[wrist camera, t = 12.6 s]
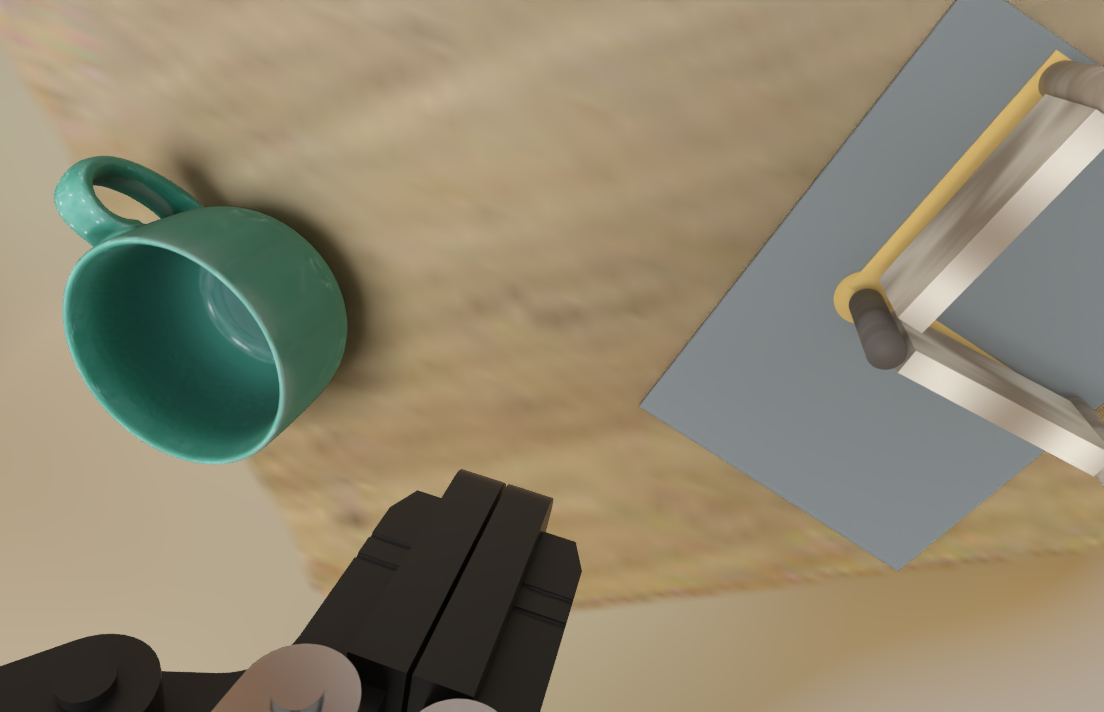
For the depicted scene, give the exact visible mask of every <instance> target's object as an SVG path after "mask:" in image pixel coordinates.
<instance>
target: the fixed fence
mask: <svg viewBox="0 0 1104 712" xmlns="http://www.w3.org/2000/svg"><path fill="white" fill-rule="evenodd" d="M1038 89H1039V92H1040V94H1041V95H1042V96H1043V97H1042V98H1041V99H1040V100H1039V102H1038V103H1037V104H1036V105H1035V106H1034V107H1033V108H1032V109H1031V110H1030V112H1029V113H1028V114H1027V115H1026V116H1025V117H1024V118H1023V119H1022V120H1021V121H1020V123H1019V124H1018V125H1017V126H1016V127H1015V128H1014V129H1013V130H1012V131H1011V133H1010V134H1009V135H1008V136H1007V137H1006V138H1005V139H1004V140H1003V141H1002V143H1001V144H1000V145H999V146H998V147H997V148H996V149H995V150H994V151H993V153H992V154H991V155H990V156H989V157H988V158H987V159H986V160H985V161H984V163H983V164H982V165H981V166H980V167H979V168H978V169H977V170H976V171H975V173H974V174H973V175H972V176H971V177H970V178H969V179H968V180H967V181H966V182H965V184H964V185H963V186H962V187H961V188H960V189H959V190H958V191H957V192H956V194H955V195H954V196H953V197H952V198H951V199H950V200H949V201H948V202H947V204H946V205H945V206H944V207H943V208H942V209H941V210H940V211H939V212H938V214H937V215H936V216H935V217H934V218H933V219H932V220H931V221H930V222H929V224H928V225H927V226H926V227H925V228H924V229H923V230H922V231H921V232H920V233H919V235H918V236H917V237H916V238H915V239H914V240H913V241H912V242H911V243H910V245H909V246H908V247H907V248H906V249H905V250H904V251H903V252H902V253H901V255H900V256H899V257H898V258H897V259H896V260H895V261H894V262H893V263H892V265H891V266H890V267H889V268H888V269H887V270H886V271H885V272H884V273H883V275H882V276H881V277H880V278H879V281H880V283H881V285H882V287H883V289H884V291H885V293H886V295H887V297H888V299H889V301H890V303H891V305H892V307H893V309H894V311H895V313H896V315H897V317H898V318H899V319H900V320H902V321H903V322H905V323H907V324H908V325H910V326H911V327H913V328H914V329H916V330H917V331H919V332H920V333H923V332H924V331H925V330H926V329H927V328H928V327H929V326H930V325H931V324H932V323H933V322H934V321H935V320H936V319H937V318H938V317H939V316H940V315H941V314H942V313H943V312H944V310H945V309H946V308H947V307H948V306H949V305H950V304H951V303H952V302H953V301H954V300H955V299H956V298H957V297H958V296H959V295H960V294H961V293H962V292H963V291H964V290H965V289H966V288H967V287H968V286H969V285H970V284H971V283H972V282H973V281H974V280H975V279H976V278H977V277H978V276H979V275H980V274H981V273H982V272H983V271H984V270H985V269H986V268H987V267H988V266H989V265H990V264H991V263H992V262H993V261H994V260H995V259H996V258H997V257H998V256H999V255H1000V254H1001V253H1002V252H1003V251H1004V250H1005V249H1006V248H1007V246H1008V245H1009V244H1010V243H1011V242H1012V241H1013V240H1014V239H1015V238H1016V237H1017V236H1018V235H1019V234H1020V233H1021V232H1022V231H1023V230H1024V229H1025V228H1026V227H1027V226H1028V225H1029V224H1030V223H1031V222H1032V221H1033V220H1034V219H1035V218H1036V217H1037V216H1038V215H1039V214H1040V213H1041V212H1042V211H1043V210H1044V209H1045V208H1046V207H1047V206H1048V205H1049V204H1050V203H1051V202H1052V201H1053V200H1054V199H1055V198H1056V197H1057V196H1058V195H1059V194H1060V193H1061V192H1062V191H1063V190H1064V189H1065V188H1066V187H1067V186H1068V185H1069V184H1070V182H1071V181H1072V180H1073V179H1074V178H1075V177H1076V176H1077V175H1078V174H1079V173H1080V172H1081V171H1082V170H1083V169H1084V168H1085V167H1086V166H1087V165H1088V164H1089V163H1090V162H1091V161H1092V160H1093V159H1094V158H1095V157H1096V156H1097V155H1098V154H1099V153H1100V152H1101V151H1102V150H1103V149H1104V66H1098V65H1092V64H1086V63H1080V62H1075V61H1068V60H1063V61H1059V62H1056V63H1054V64H1052V65H1050V66H1049V67H1048V68H1047V69H1046V70H1045V71H1044V72H1043V73H1042V75H1041V77H1040V79H1039V83H1038Z"/></svg>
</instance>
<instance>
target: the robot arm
mask: <svg viewBox="0 0 1104 712" xmlns="http://www.w3.org/2000/svg"><path fill="white" fill-rule="evenodd" d="M552 504H553V498H551V497H547V496H544V495H541V494H538V493H535V492H532V491H529V490H526V489H523V488H519V487H516V486H513V485H510V484H508V485H507V487H506V484H505V483H503V482H500V481H497V480H494V479H491V478H488V477H485V476H482V475H478V474H475V473H472V472H469V471H466V470H463V469H461V470H459V471H458V472H457V474H456V475H455V477H454V479H453V480H452V482H451V483H450V485H449V487H448V488H447V490H446V492H445V493H444V495H443V496H442V498H439V497H436V496H433V495H430V494H427V493H424V492H421V491H418V490H417V491H416V492H414V493H412V494H411V495H409V496H408V497H406V498H404V499H403V500H401V501H400V502H398V503H396V504H395V505H393V506H391V507H390V508H389V509H388V511H387V512H386V514H385V515H384V517H383V518H382V519H381V521H380V522H379V524H378V525H377V527H376V528H375V529H374V531H373V533H372V536H371V537H369V538H368V539H367V541H366V542H365V544H364V545H363V546H362V548H361V549H360V551H359V552H358V556H357V557H356V558H354V559H353V561H352V562H351V564H350V565H349V566H348V568H347V569H346V571H345V572H344V574H343V575H342V576H341V578H340V579H339V581H338V582H337V583H336V585H335V586H334V588H333V589H332V591H331V592H330V593H329V595H328V596H327V598H326V599H325V601H324V602H323V604H322V605H321V606H320V608H319V609H318V611H317V612H316V614H315V615H314V616H313V618H312V619H311V620H310V622H309V623H308V625H307V626H306V628H305V629H304V630H303V632H302V633H301V635H300V636H299V637H298V638H297V640H296V641H295V642H294V643H293V644H292V645H290V646H286V647H282V648H279V649H277V650H274V651H272V652H270V653H268V654H266V655H265V656H263V657H261V658H260V659H259V660H257V661H256V662H255V663H253V664H252V665H251V666H250V667H249V668H248V669H247V670H243V671H238V672H231V673H195V672H165V671H161V668H160V662H159V659H158V657H157V655H156V653H155V652H154V651H153V650H152V648H151V647H150V646H149V645H147V644H146V643H144V642H143V641H141V640H139V639H136V638H134V637H131V636H126V635H120V634H102V635H101V634H100V635H95V636H90V637H85V638H82V639H78V640H75V641H72V642H69V643H66V644H63V645H60V646H58V647H55V648H52V649H49V650H46V651H43V652H40V653H38V654H35V655H32V656H29V657H26V658H23V659H21V660H18V661H15V662H12V663H9V664H6V665H3V666H0V712H540V710H541V707H542V703H543V700H544V697H545V693H546V690H547V687H548V683H549V680H550V676H551V673H552V670H553V666H554V663H555V660H556V656H557V653H558V649H559V646H560V642H561V639H562V636H563V632H564V629H565V626H566V623H567V619H568V616H569V612H570V609H571V606H572V602H573V599H574V596H575V592H576V589H577V586H578V582H579V579H580V575H581V572H582V570H581V565H580V560H579V556H578V551H577V546H576V542H574V541H570V540H567V539H564V538H561V537H558V536H555V535H552V534H549V533H546V529H547V525H548V521H549V517H550V513H551V509H552Z"/></svg>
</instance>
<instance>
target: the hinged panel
mask: <svg viewBox="0 0 1104 712" xmlns="http://www.w3.org/2000/svg"><path fill="white" fill-rule="evenodd" d="M849 310H850V313H851V315H852V318H853V321H854V324H855V327H856V330H857V332H858V335H859V338H860V341H861V344H862V347H863V349H864V352H865V355H866V358H867V360H868V362H869V363H870V364H871V365H872V366H873V367H875V368H877V369H881V370H889V369H893V368H896V370H897V372H898V373H899V374H901V375H903V376H905V377H907V378H909V379H911V380H912V381H914V382H916V383H918V384H920V385H922V386H924V387H926V388H928V389H929V390H931V391H933V392H935V393H937V394H939V395H941V396H943V397H945V398H946V399H948V400H950V401H952V402H954V403H956V404H958V405H960V406H962V407H963V408H965V409H967V410H969V411H971V412H973V413H975V414H977V415H979V416H981V417H982V418H984V419H986V420H988V421H990V422H992V423H994V424H996V425H998V426H999V427H1001V428H1003V429H1005V430H1007V431H1009V432H1011V433H1013V434H1015V435H1016V436H1018V437H1020V438H1022V439H1024V440H1026V441H1028V442H1030V443H1032V444H1033V445H1035V446H1037V447H1039V448H1041V449H1043V450H1045V451H1047V452H1049V453H1050V454H1052V455H1054V456H1056V457H1058V458H1060V459H1062V460H1064V461H1066V462H1067V463H1069V464H1071V465H1073V466H1075V467H1077V468H1079V469H1081V470H1083V471H1084V472H1086V473H1088V474H1090V475H1092V476H1096V477H1097V479H1098V480H1099V481H1100V483H1101V484H1102V485H1103V487H1104V422H1103V421H1102V419H1101V418H1100V417H1099V416H1098V415H1097V414H1096V412H1095V411H1094V410H1093V409H1092V408H1091V407H1090V406H1089V404H1088V403H1087V402H1086V401H1084V400H1083V399H1080V398H1067V399H1065V398H1063V397H1062V396H1060V395H1058V394H1056V393H1054V392H1052V391H1050V390H1048V389H1046V388H1045V387H1043V386H1041V385H1039V384H1037V383H1035V382H1033V381H1031V380H1029V379H1028V378H1026V377H1024V376H1022V375H1020V374H1018V373H1016V372H1014V371H1012V370H1010V369H1009V368H1007V367H1005V366H1003V365H1001V364H999V363H997V362H995V361H993V360H992V359H990V358H988V357H986V356H984V355H982V354H980V353H978V352H976V351H975V350H973V349H971V348H969V347H967V346H965V345H963V344H961V343H959V342H958V341H956V340H954V339H952V338H950V337H948V336H946V335H944V334H942V333H941V332H939V331H937V330H935V329H933V328H931V327H928V328H927V329H926V330H925V331H924V332H923V333H920V332H919V331H917V330H916V329H914V328H913V327H911V326H910V325H908V324H907V323H905V322H903V321H902V320H900V319H899V318H898V317H897V315H896V313H895V311H894V310H893V311H892V312H891V313H890V311H889V309H888V306H887V304H886V302H885V300H884V298H883V296H882V295H881V294H880V293H879V292H878V291H876V290H874V289H862V290H859V291H857V292H856V293H854V294H853V295H852V297H851V298H850V301H849Z"/></svg>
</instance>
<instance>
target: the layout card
mask: <svg viewBox="0 0 1104 712" xmlns="http://www.w3.org/2000/svg"><path fill="white" fill-rule="evenodd" d="M1063 60H1068V61H1075V62H1080V63H1086V64H1092V65H1098V66H1100V65H1099V64H1097V63H1096V62H1094V61H1093V60H1091V59H1090V58H1088V57H1087V56H1086V55H1084V54H1083V53H1081V52H1080V51H1078V50H1077V49H1075V48H1074V47H1072V46H1071V45H1069V44H1068V43H1066V42H1065V41H1063V40H1062V39H1060V38H1059V37H1058V36H1056V35H1055V34H1053V33H1052V32H1050V31H1049V30H1047V29H1046V28H1044V27H1043V26H1041V25H1040V24H1038V23H1037V22H1035V21H1034V20H1033V19H1031V18H1030V17H1028V16H1027V15H1025V14H1024V13H1022V12H1021V11H1019V10H1018V9H1016V8H1015V7H1013V6H1012V5H1010V4H1009V3H1007V2H1006V1H1005V0H955V1H954V3H953V4H952V5H951V6H950V8H949V9H948V10H947V12H946V13H945V14H944V15H943V17H942V18H941V19H940V21H939V22H938V23H937V24H936V26H935V27H934V28H933V29H932V31H931V32H930V33H929V35H928V36H927V37H926V38H925V40H924V41H923V42H922V44H921V45H920V46H919V47H918V49H917V50H916V51H915V53H914V54H913V55H912V56H911V58H910V59H909V60H908V61H907V63H906V64H905V65H904V67H903V68H902V69H901V70H900V72H899V73H898V74H897V76H896V77H895V78H894V79H893V81H892V82H891V83H890V85H889V86H888V87H887V88H886V90H885V91H884V92H883V93H882V95H881V96H880V97H879V99H878V100H877V101H876V102H875V104H874V105H873V106H872V108H871V109H870V110H869V111H868V113H867V114H866V115H865V116H864V118H863V119H862V120H861V122H860V123H859V124H858V125H857V127H856V128H855V129H854V131H853V132H852V133H851V134H850V136H849V137H848V138H847V140H846V141H845V142H844V143H843V145H842V146H841V147H840V148H839V150H838V151H837V152H836V154H835V155H834V156H833V157H832V159H831V160H830V161H829V163H828V164H827V165H826V166H825V168H824V169H823V170H822V172H821V173H820V174H819V175H818V177H817V178H816V179H815V180H814V182H813V183H812V184H811V186H810V187H809V188H808V189H807V191H806V192H805V193H804V195H803V196H802V197H801V198H800V200H799V201H798V202H797V204H796V205H795V206H794V207H793V209H792V210H791V211H790V212H789V214H788V215H787V216H786V218H785V219H784V220H783V221H782V223H781V224H780V225H779V227H778V228H777V229H776V230H775V232H774V233H773V234H772V235H771V237H770V238H769V239H768V241H767V242H766V243H765V244H764V246H763V247H762V248H761V250H760V251H759V252H758V253H757V255H756V256H755V257H754V259H753V260H752V261H751V262H750V264H749V265H748V266H747V267H746V269H745V270H744V271H743V273H742V274H741V275H740V276H739V278H738V279H737V280H736V282H735V283H734V284H733V285H732V287H731V288H730V289H729V291H728V292H727V293H726V294H725V296H724V297H723V298H722V299H721V301H720V302H719V303H718V305H717V306H716V307H715V308H714V310H713V311H712V312H711V314H710V315H709V316H708V317H707V319H706V320H705V321H704V322H703V324H702V325H701V326H700V328H699V329H698V330H697V331H696V333H695V334H694V335H693V337H692V338H691V339H690V340H689V342H688V343H687V344H686V346H685V347H684V348H683V349H682V351H681V352H680V353H679V354H678V356H677V357H676V358H675V360H674V361H673V362H672V363H671V365H670V366H669V367H668V369H667V370H666V371H665V372H664V374H663V375H662V376H661V378H660V379H659V380H658V381H657V383H656V384H655V385H654V386H653V388H652V389H651V390H650V392H649V393H648V394H647V395H646V397H645V398H644V399H643V401H642V402H641V403H640V405H639V407H641V408H642V409H644V410H646V411H647V412H649V413H650V414H652V415H653V416H655V417H657V418H658V419H660V420H661V421H663V422H664V423H666V424H668V425H669V426H671V427H672V428H674V429H675V430H677V431H679V432H680V433H682V434H683V435H685V436H686V437H688V438H690V439H691V440H693V441H694V442H696V443H697V444H699V445H701V446H702V447H704V448H705V449H707V450H708V451H710V452H712V453H713V454H715V455H716V456H718V457H719V458H721V459H723V460H724V461H726V462H727V463H729V464H730V465H732V466H734V467H735V468H737V469H738V470H740V471H741V472H743V473H745V474H746V475H748V476H749V477H751V478H752V479H754V480H756V481H757V482H759V483H760V484H762V485H763V486H765V487H767V488H768V489H770V490H771V491H773V492H774V493H776V494H778V495H779V496H781V497H782V498H784V499H785V500H787V501H789V502H790V503H792V504H793V505H795V506H796V507H798V508H800V509H801V510H803V511H804V512H806V513H807V514H809V515H811V516H812V517H814V518H815V519H817V520H818V521H820V522H822V523H823V524H825V525H826V526H828V527H829V528H831V529H833V530H834V531H836V532H837V533H839V534H840V535H842V536H844V537H845V538H847V539H848V540H850V541H851V542H853V543H855V544H856V545H858V546H859V547H861V548H862V549H864V550H866V551H867V552H869V553H870V554H872V555H873V556H875V557H877V558H878V559H880V560H881V561H883V562H884V563H886V564H888V565H889V566H891V567H892V568H894V569H895V570H897V571H899V570H900V569H901V568H902V567H904V566H905V565H906V564H907V563H908V562H910V561H911V560H912V559H913V558H915V557H916V556H917V555H918V554H919V553H921V552H922V551H923V550H924V549H926V548H927V547H928V546H929V545H930V544H932V543H933V542H934V541H935V540H937V539H938V538H939V537H940V536H941V535H943V534H944V533H945V532H946V531H948V530H949V529H950V528H951V527H952V526H954V525H955V524H956V523H957V522H959V521H960V520H961V519H962V518H963V517H965V516H966V515H967V514H968V513H970V512H971V511H972V510H973V509H974V508H976V507H977V506H978V505H979V504H981V503H982V502H983V501H984V500H985V499H987V498H988V497H989V496H990V495H992V494H993V493H994V492H995V491H996V490H998V489H999V488H1000V487H1001V486H1003V485H1004V484H1005V483H1006V482H1007V481H1009V480H1010V479H1011V478H1012V477H1014V476H1015V475H1016V474H1017V473H1018V472H1020V471H1021V470H1022V469H1023V468H1025V467H1026V466H1027V465H1028V464H1029V463H1031V462H1032V461H1033V460H1034V459H1036V458H1037V457H1038V456H1039V455H1041V454H1042V453H1043V452H1044V451H1045V450H1043V449H1041V448H1039V447H1037V446H1035V445H1033V444H1032V443H1030V442H1028V441H1026V440H1024V439H1022V438H1020V437H1018V436H1016V435H1015V434H1013V433H1011V432H1009V431H1007V430H1005V429H1003V428H1001V427H999V426H998V425H996V424H994V423H992V422H990V421H988V420H986V419H984V418H982V417H981V416H979V415H977V414H975V413H973V412H971V411H969V410H967V409H965V408H963V407H962V406H960V405H958V404H956V403H954V402H952V401H950V400H948V399H946V398H945V397H943V396H941V395H939V394H937V393H935V392H933V391H931V390H929V389H928V388H926V387H924V386H922V385H920V384H918V383H916V382H914V381H912V380H911V379H909V378H907V377H905V376H903V375H901V374H899V373H898V372H897V370H896V368H893V369H889V370H881V369H877V368H875V367H873V366H872V365H871V364H870V363H869V362H868V360H867V358H866V355H865V352H864V349H863V347H862V344H861V341H860V338H859V335H858V332H857V330H856V327H855V324H854V321H853V318H852V315H851V313H850V310H849V301H850V298H851V297H852V295H853V294H854V293H856V292H857V291H859V290H862V289H874V290H876V291H878V292H879V293H880V294H881V295H882V296H883V298H884V300H885V302H886V304H887V306H888V309H889V311H890V313H891V312H892V311H893V310H894V309H893V307H892V305H891V303H890V301H889V299H888V297H887V295H886V293H885V291H884V289H883V287H882V285H881V283H880V281H879V278H880V277H881V276H882V275H883V273H884V272H885V271H886V270H887V269H888V268H889V267H890V266H891V265H892V263H893V262H894V261H895V260H896V259H897V258H898V257H899V256H900V255H901V253H902V252H903V251H904V250H905V249H906V248H907V247H908V246H909V245H910V243H911V242H912V241H913V240H914V239H915V238H916V237H917V236H918V235H919V233H920V232H921V231H922V230H923V229H924V228H925V227H926V226H927V225H928V224H929V222H930V221H931V220H932V219H933V218H934V217H935V216H936V215H937V214H938V212H939V211H940V210H941V209H942V208H943V207H944V206H945V205H946V204H947V202H948V201H949V200H950V199H951V198H952V197H953V196H954V195H955V194H956V192H957V191H958V190H959V189H960V188H961V187H962V186H963V185H964V184H965V182H966V181H967V180H968V179H969V178H970V177H971V176H972V175H973V174H974V173H975V171H976V170H977V169H978V168H979V167H980V166H981V165H982V164H983V163H984V161H985V160H986V159H987V158H988V157H989V156H990V155H991V154H992V153H993V151H994V150H995V149H996V148H997V147H998V146H999V145H1000V144H1001V143H1002V141H1003V140H1004V139H1005V138H1006V137H1007V136H1008V135H1009V134H1010V133H1011V131H1012V130H1013V129H1014V128H1015V127H1016V126H1017V125H1018V124H1019V123H1020V121H1021V120H1022V119H1023V118H1024V117H1025V116H1026V115H1027V114H1028V113H1029V112H1030V110H1031V109H1032V108H1033V107H1034V106H1035V105H1036V104H1037V103H1038V102H1039V100H1040V99H1041V98H1042V97H1043V96H1042V95H1041V94H1040V92H1039V89H1038V83H1039V79H1040V77H1041V75H1042V73H1043V72H1044V71H1045V70H1046V69H1047V68H1048V67H1049V66H1050V65H1052V64H1054V63H1056V62H1059V61H1063ZM929 327H931V328H933V329H935V330H937V331H939V332H941V333H942V334H944V335H946V336H948V337H950V338H952V339H954V340H956V341H958V342H959V343H961V344H963V345H965V346H967V347H969V348H971V349H973V350H975V351H976V352H978V353H980V354H982V355H984V356H986V357H988V358H990V359H992V360H993V361H995V362H997V363H999V364H1001V365H1003V366H1005V367H1007V368H1009V369H1010V370H1012V371H1014V372H1016V373H1018V374H1020V375H1022V376H1024V377H1026V378H1028V379H1029V380H1031V381H1033V382H1035V383H1037V384H1039V385H1041V386H1043V387H1045V388H1046V389H1048V390H1050V391H1052V392H1054V393H1056V394H1058V395H1060V396H1062V397H1063V398H1065V399H1067V398H1080V399H1083V400H1084V401H1086V402H1087V403H1088V404H1089V406H1090V407H1091V408H1092V409H1093V410H1096V409H1097V408H1098V407H1099V406H1100V405H1102V404H1103V403H1104V149H1103V150H1102V151H1101V152H1100V153H1099V154H1098V155H1097V156H1096V157H1095V158H1094V159H1093V160H1092V161H1091V162H1090V163H1089V164H1088V165H1087V166H1086V167H1085V168H1084V169H1083V170H1082V171H1081V172H1080V173H1079V174H1078V175H1077V176H1076V177H1075V178H1074V179H1073V180H1072V181H1071V182H1070V184H1069V185H1068V186H1067V187H1066V188H1065V189H1064V190H1063V191H1062V192H1061V193H1060V194H1059V195H1058V196H1057V197H1056V198H1055V199H1054V200H1053V201H1052V202H1051V203H1050V204H1049V205H1048V206H1047V207H1046V208H1045V209H1044V210H1043V211H1042V212H1041V213H1040V214H1039V215H1038V216H1037V217H1036V218H1035V219H1034V220H1033V221H1032V222H1031V223H1030V224H1029V225H1028V226H1027V227H1026V228H1025V229H1024V230H1023V231H1022V232H1021V233H1020V234H1019V235H1018V236H1017V237H1016V238H1015V239H1014V240H1013V241H1012V242H1011V243H1010V244H1009V245H1008V246H1007V248H1006V249H1005V250H1004V251H1003V252H1002V253H1001V254H1000V255H999V256H998V257H997V258H996V259H995V260H994V261H993V262H992V263H991V264H990V265H989V266H988V267H987V268H986V269H985V270H984V271H983V272H982V273H981V274H980V275H979V276H978V277H977V278H976V279H975V280H974V281H973V282H972V283H971V284H970V285H969V286H968V287H967V288H966V289H965V290H964V291H963V292H962V293H961V294H960V295H959V296H958V297H957V298H956V299H955V300H954V301H953V302H952V303H951V304H950V305H949V306H948V307H947V308H946V309H945V310H944V312H943V313H942V314H941V315H940V316H939V317H938V318H937V319H936V320H935V321H934V322H933V323H932V324H931V325H930V326H929Z"/></svg>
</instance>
